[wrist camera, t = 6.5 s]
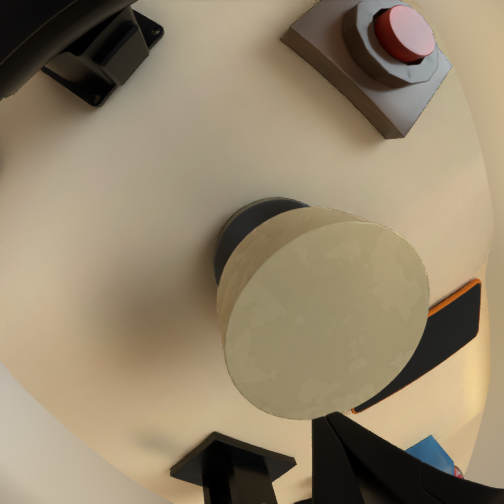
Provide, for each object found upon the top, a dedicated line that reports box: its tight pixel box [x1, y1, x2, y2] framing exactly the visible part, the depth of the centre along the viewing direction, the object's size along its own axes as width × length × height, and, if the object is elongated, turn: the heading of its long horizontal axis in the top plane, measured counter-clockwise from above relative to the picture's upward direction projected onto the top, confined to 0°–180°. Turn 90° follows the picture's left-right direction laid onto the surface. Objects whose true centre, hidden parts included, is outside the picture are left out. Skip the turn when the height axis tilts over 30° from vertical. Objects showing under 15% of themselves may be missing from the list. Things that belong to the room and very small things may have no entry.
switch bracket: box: [170, 432, 297, 504], centre depth 21 cm, size 10×8×9 cm
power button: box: [374, 5, 435, 62], centre depth 13 cm, size 4×4×2 cm
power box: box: [281, 0, 452, 139], centre depth 15 cm, size 10×9×4 cm
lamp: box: [213, 197, 430, 420], centre depth 15 cm, size 8×8×10 cm
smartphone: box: [351, 279, 481, 414], centre depth 24 cm, size 8×17×1 cm, turn 110°
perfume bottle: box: [405, 435, 454, 475], centre depth 26 cm, size 6×6×12 cm
